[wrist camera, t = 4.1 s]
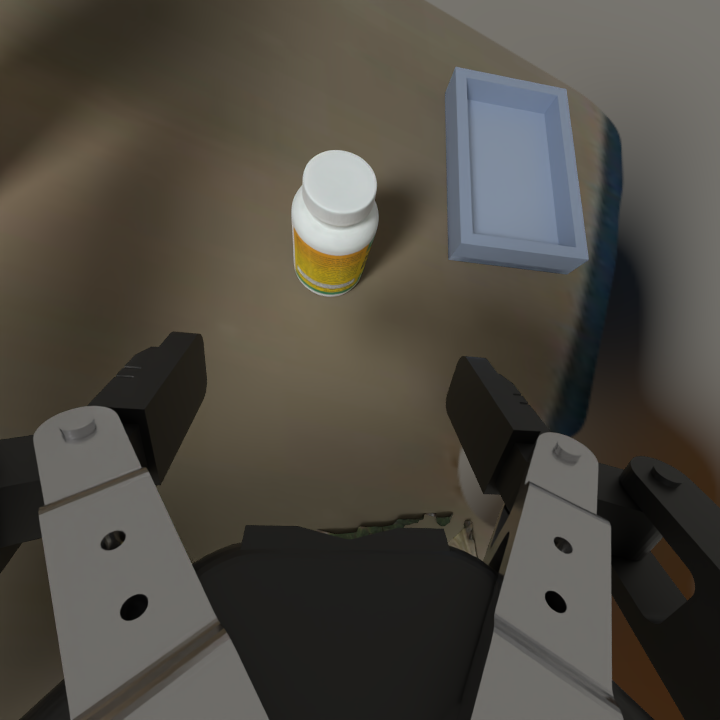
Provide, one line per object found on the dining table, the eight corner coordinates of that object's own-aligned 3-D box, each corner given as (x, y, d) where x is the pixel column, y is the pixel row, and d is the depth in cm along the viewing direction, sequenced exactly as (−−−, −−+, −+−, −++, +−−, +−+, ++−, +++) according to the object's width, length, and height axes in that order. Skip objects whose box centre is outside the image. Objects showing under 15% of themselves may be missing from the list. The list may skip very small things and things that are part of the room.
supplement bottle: (290, 239, 28) (283, 137, 19) (356, 235, 29) (380, 137, 20) (298, 302, 27) (295, 226, 18) (366, 296, 28) (397, 221, 19)
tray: (567, 274, 31) (588, 259, 29) (448, 259, 30) (461, 243, 27) (548, 113, 36) (566, 89, 33) (445, 93, 34) (455, 66, 32)
